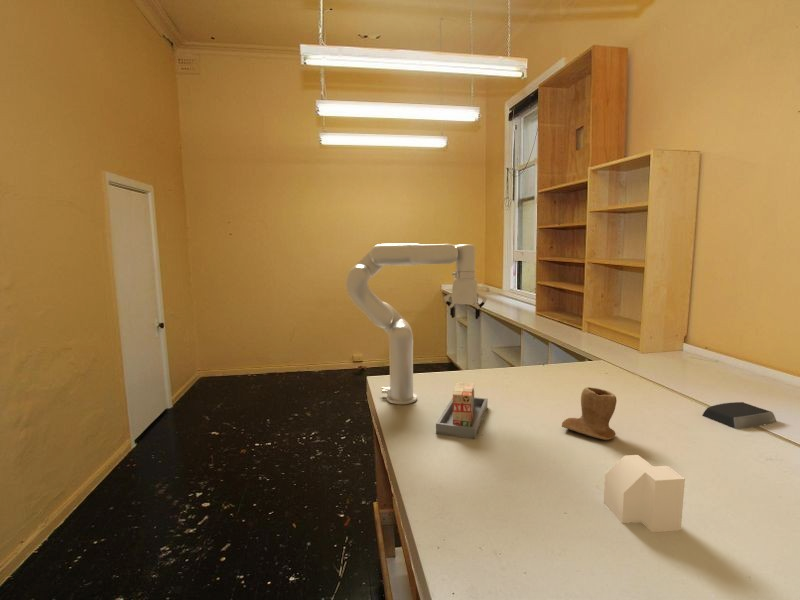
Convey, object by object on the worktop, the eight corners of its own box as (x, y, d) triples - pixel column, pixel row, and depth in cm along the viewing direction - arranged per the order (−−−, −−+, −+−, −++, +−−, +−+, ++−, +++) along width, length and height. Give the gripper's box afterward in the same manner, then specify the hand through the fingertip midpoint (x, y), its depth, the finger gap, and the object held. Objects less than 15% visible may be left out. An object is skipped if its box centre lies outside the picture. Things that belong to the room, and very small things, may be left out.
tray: (435, 433, 138) (435, 423, 138) (454, 403, 164) (454, 395, 164) (474, 439, 134) (474, 428, 133) (487, 407, 160) (487, 398, 159)
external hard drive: (779, 423, 143) (780, 412, 143) (737, 431, 138) (738, 419, 137) (739, 409, 156) (740, 399, 155) (699, 416, 150) (700, 405, 150)
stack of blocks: (458, 405, 161) (458, 374, 159) (474, 406, 159) (474, 375, 158) (452, 428, 140) (452, 393, 138) (471, 430, 139) (471, 394, 137)
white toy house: (680, 530, 90) (685, 478, 89) (631, 533, 89) (634, 481, 88) (647, 500, 101) (651, 454, 99) (603, 503, 100) (605, 456, 98)
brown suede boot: (621, 433, 136) (623, 389, 134) (608, 446, 128) (610, 399, 126) (575, 420, 147) (576, 379, 145) (560, 431, 139) (562, 388, 137)
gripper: (441, 275, 164) (441, 318, 166) (485, 276, 158) (485, 320, 160) (446, 274, 171) (446, 315, 173) (488, 275, 165) (488, 317, 167)
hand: (465, 317), depth 167 cm, fingers open, 9 cm apart
